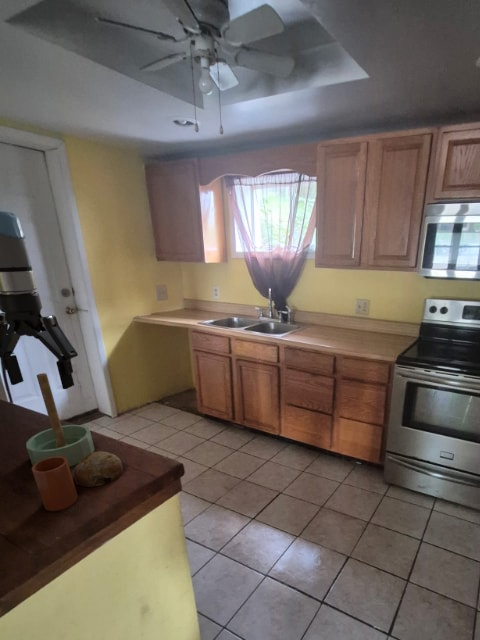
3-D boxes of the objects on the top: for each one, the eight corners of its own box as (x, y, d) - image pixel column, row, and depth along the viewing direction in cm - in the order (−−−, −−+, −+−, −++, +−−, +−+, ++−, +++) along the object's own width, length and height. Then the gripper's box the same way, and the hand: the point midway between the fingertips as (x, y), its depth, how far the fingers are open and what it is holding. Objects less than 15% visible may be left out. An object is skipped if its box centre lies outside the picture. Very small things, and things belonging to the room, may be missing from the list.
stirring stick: (56, 457, 94) (32, 375, 86) (62, 453, 96) (39, 372, 87) (67, 458, 94) (43, 376, 85) (72, 454, 96) (50, 373, 87)
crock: (38, 512, 76) (23, 471, 72) (60, 493, 81) (48, 454, 77) (64, 515, 75) (51, 474, 71) (84, 496, 80) (74, 457, 77)
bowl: (19, 469, 90) (11, 448, 88) (61, 442, 102) (55, 423, 100) (69, 475, 88) (63, 453, 86) (105, 446, 100) (101, 426, 98)
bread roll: (85, 505, 83) (83, 484, 78) (66, 472, 87) (63, 451, 82) (129, 485, 90) (130, 465, 85) (109, 456, 94) (109, 435, 89)
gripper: (82, 291, 80) (101, 383, 89) (-17, 288, 84) (10, 376, 92) (55, 296, 74) (79, 394, 82) (-51, 292, 77) (-18, 386, 86)
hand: (42, 385), depth 87 cm, fingers open, 13 cm apart
